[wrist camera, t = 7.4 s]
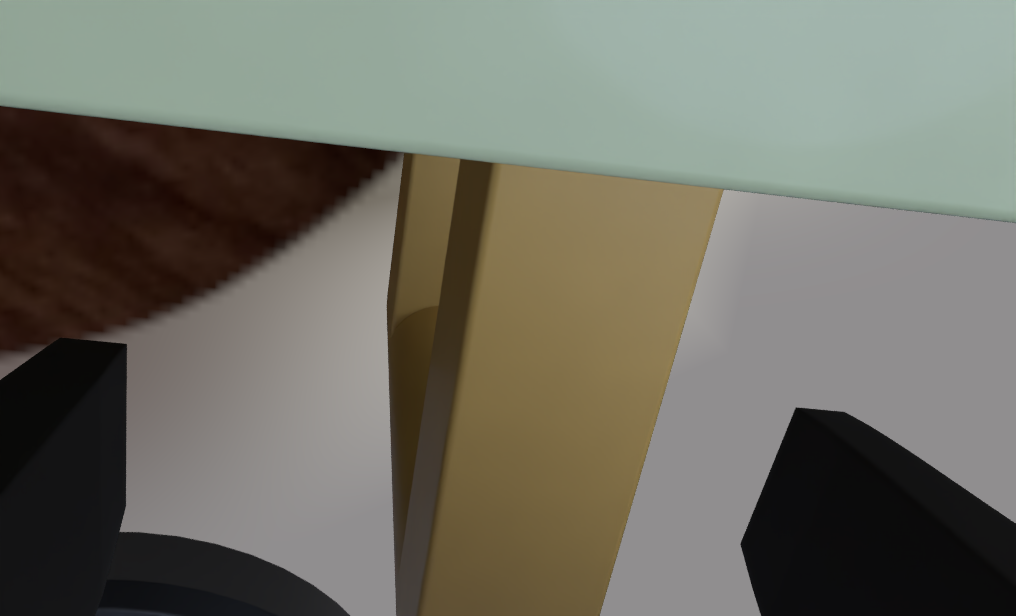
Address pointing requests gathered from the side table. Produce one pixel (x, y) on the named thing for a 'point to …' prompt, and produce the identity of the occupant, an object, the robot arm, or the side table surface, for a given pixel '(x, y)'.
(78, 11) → the door
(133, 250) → the side table surface
